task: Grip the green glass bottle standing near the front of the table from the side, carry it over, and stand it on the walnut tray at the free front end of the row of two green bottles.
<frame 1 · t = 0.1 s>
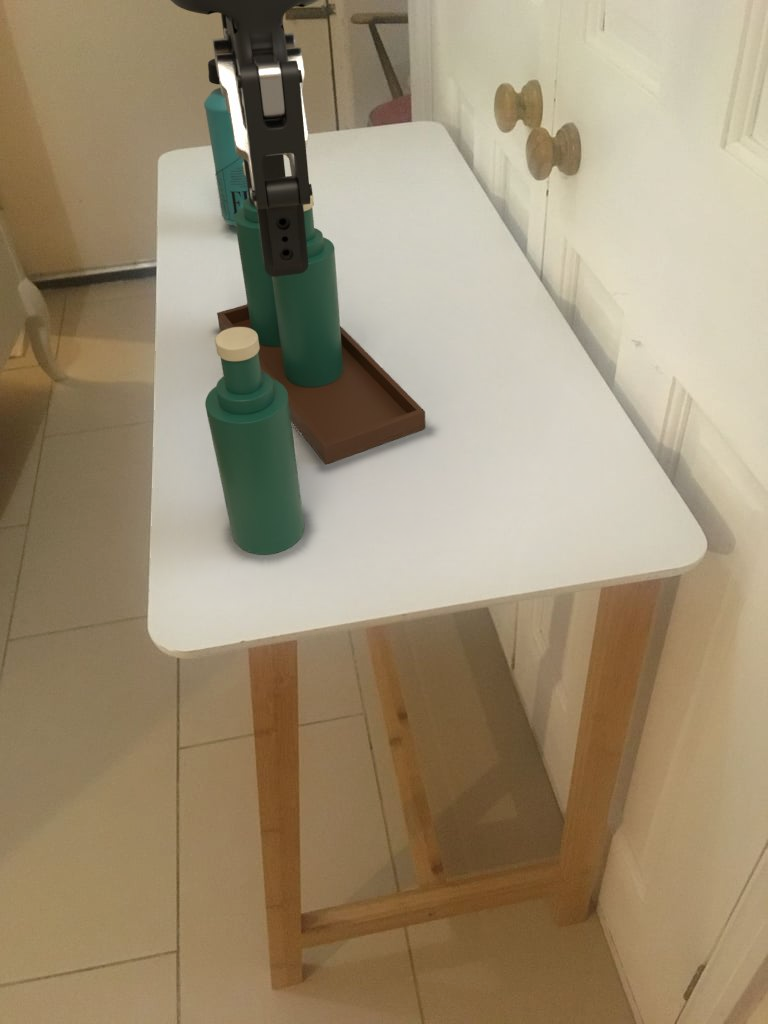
hand: (277, 235, 48), 28 cm above the table, tool pointing down, fingers open, 8 cm apart
beverage bottle: (248, 228, 113), on the table
tray: (314, 374, 88), on the table
green bottle: (268, 528, 71), on the table
row bottle far: (280, 332, 93), resting on tray
row bottle middle: (313, 370, 87), resting on tray
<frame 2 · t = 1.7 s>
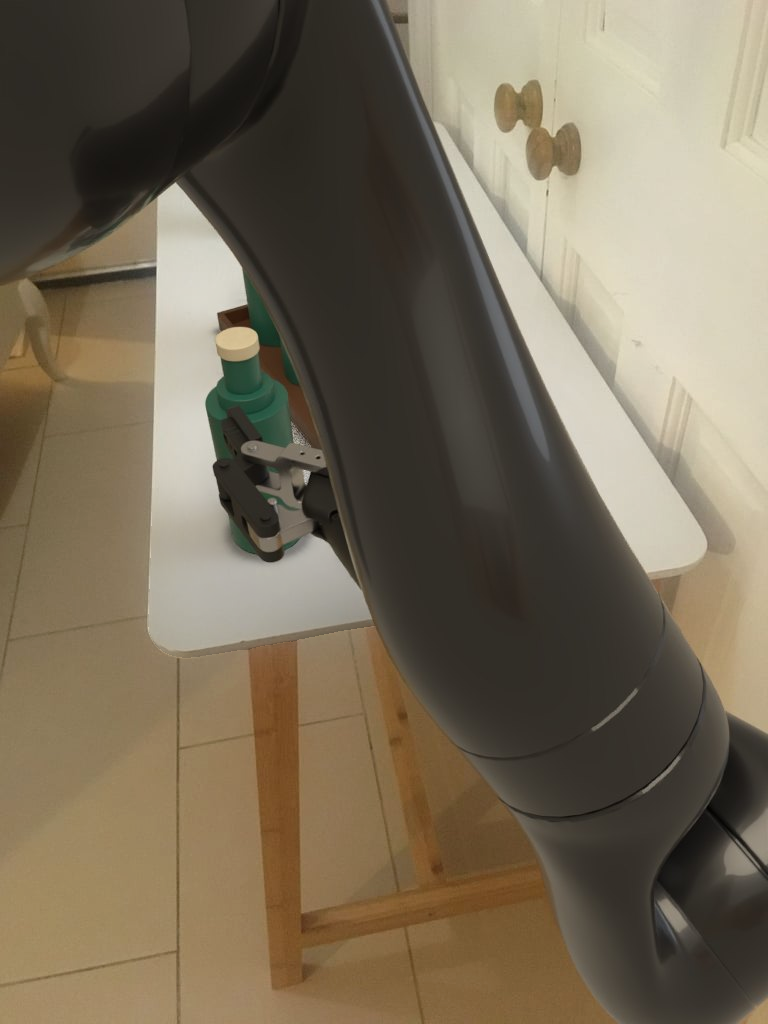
hand: (302, 396, 51), 20 cm above the table, tool horizontal, fingers open, 8 cm apart
nothing on the table moved.
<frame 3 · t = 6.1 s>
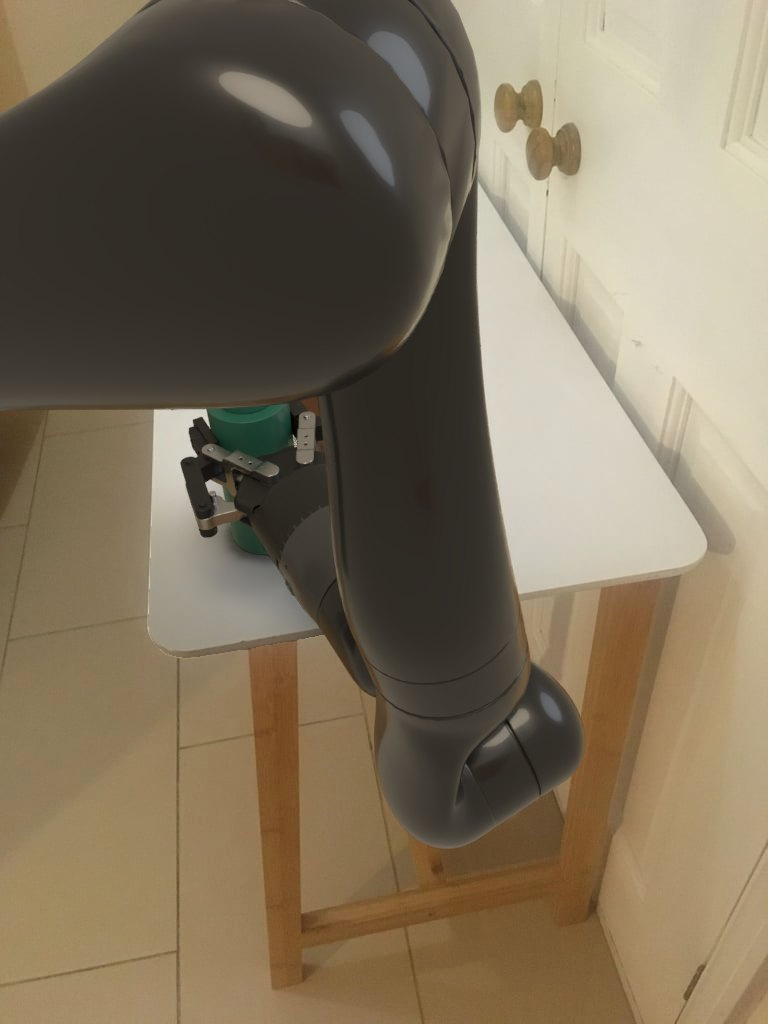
hand: (239, 414, 66), 10 cm above the table, tool horizontal, fingers closed on green bottle, 6 cm apart
green bottle: (268, 528, 71), on the table, touching gripper
everything else where it was.
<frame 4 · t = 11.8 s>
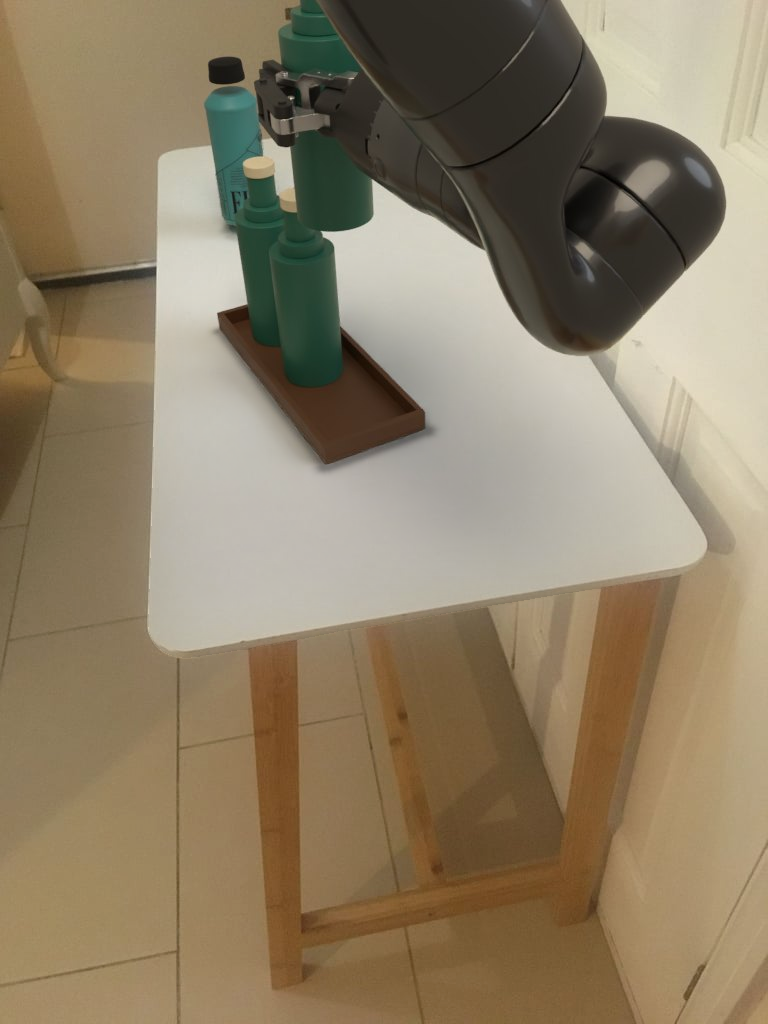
hand: (310, 68, 62), 30 cm above the table, tool horizontal, fingers closed on green bottle, 6 cm apart
green bottle: (335, 215, 67), point 20 cm above the table, touching gripper
everything else where it was.
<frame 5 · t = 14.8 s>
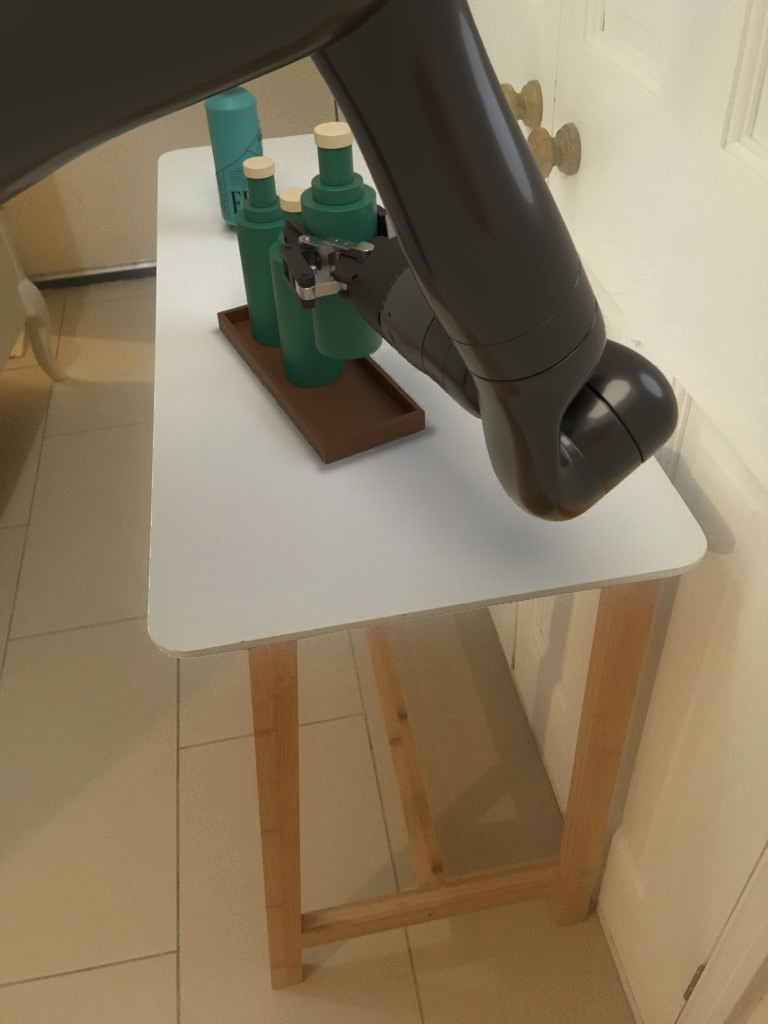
hand: (327, 221, 71), 18 cm above the table, tool horizontal, fingers closed on green bottle, 6 cm apart
green bottle: (348, 341, 76), point 8 cm above the table, touching gripper
everything else where it was.
when the fingers open (11 cm above the table, at t = 17.5 s): green bottle stays where it is, resting on tray.
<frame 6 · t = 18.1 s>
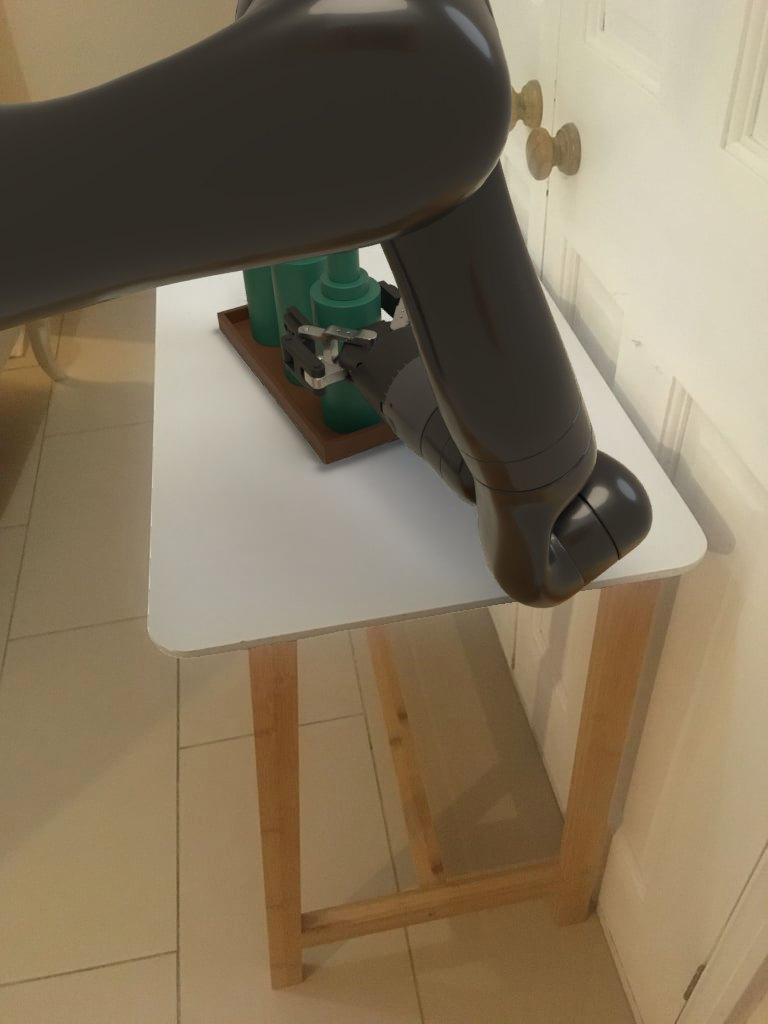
hand: (335, 303, 76), 11 cm above the table, tool horizontal, fingers open, 8 cm apart
green bottle: (353, 415, 82), resting on tray
everything else where it was.
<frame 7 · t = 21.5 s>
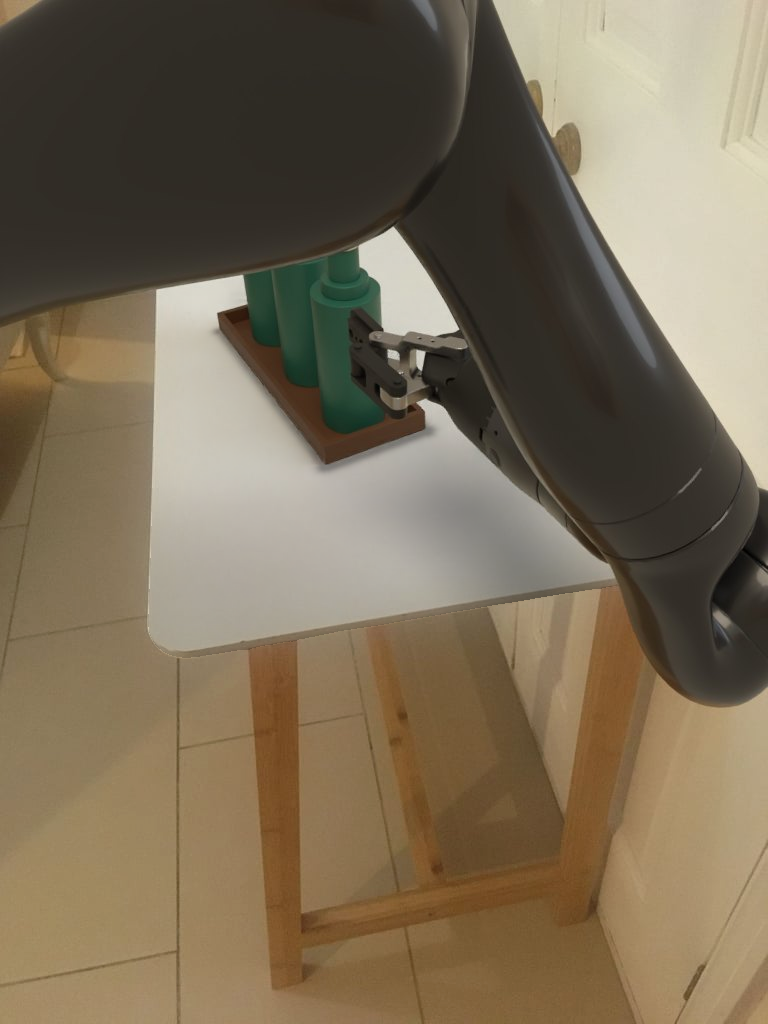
hand: (407, 304, 63), 17 cm above the table, tool horizontal, fingers open, 8 cm apart
nothing on the table moved.
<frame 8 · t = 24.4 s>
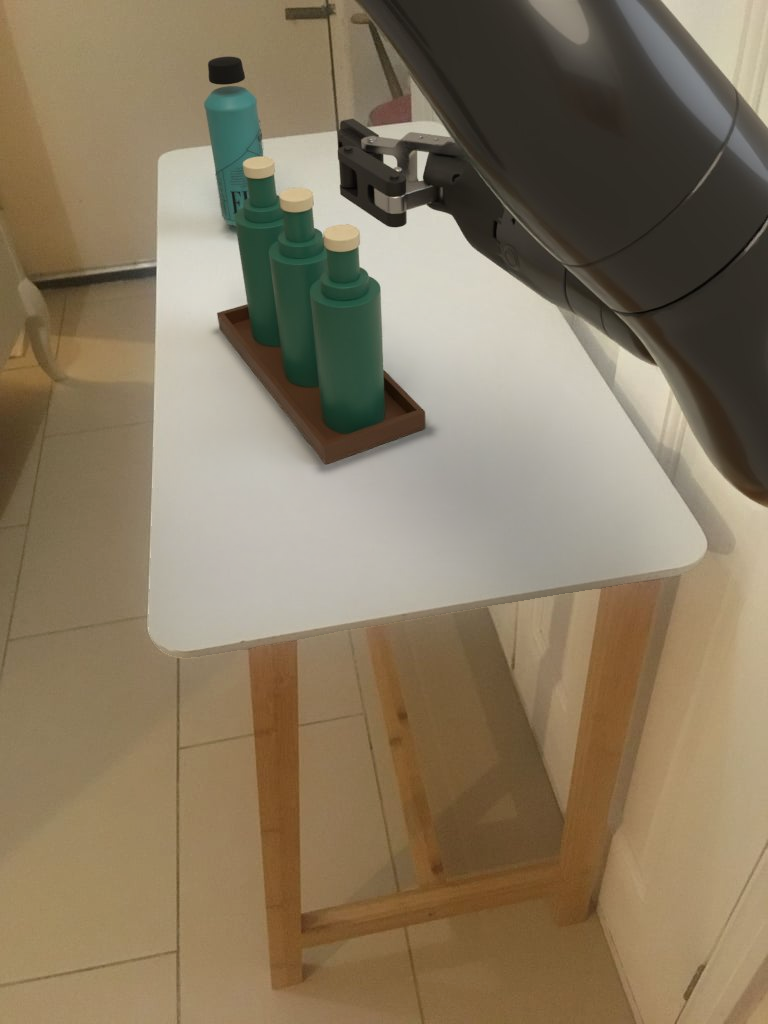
hand: (406, 122, 54), 30 cm above the table, tool horizontal, fingers open, 8 cm apart
nothing on the table moved.
at the end: green bottle 0.2 cm from the target spot in the tray, point 0.5 cm above the tray's base; green bottle tilted 0°; the gripper is holding nothing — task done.
